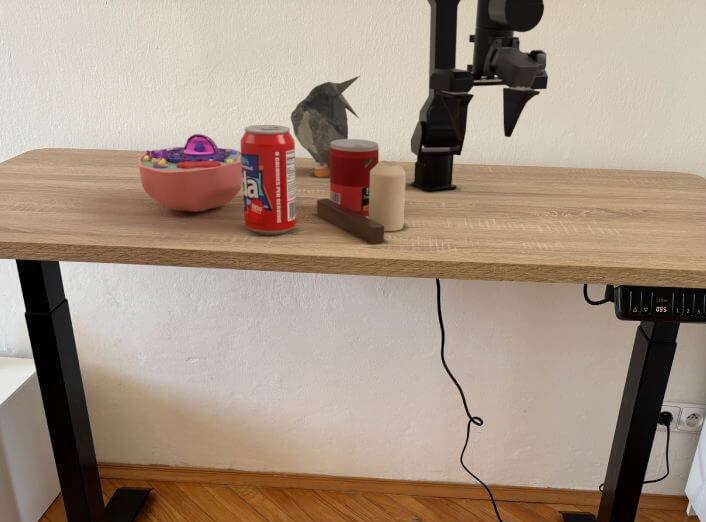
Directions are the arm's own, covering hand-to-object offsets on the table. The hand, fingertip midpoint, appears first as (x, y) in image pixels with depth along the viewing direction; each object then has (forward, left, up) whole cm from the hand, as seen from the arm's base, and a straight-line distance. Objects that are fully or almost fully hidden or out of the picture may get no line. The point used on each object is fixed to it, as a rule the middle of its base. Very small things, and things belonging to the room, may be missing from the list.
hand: (484, 138), depth 123 cm
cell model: (+39, -26, -13) cm, 49 cm away
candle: (+16, -3, -13) cm, 21 cm away
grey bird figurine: (+6, -42, -13) cm, 44 cm away
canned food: (+16, -14, -13) cm, 25 cm away
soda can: (+33, -9, -13) cm, 37 cm away
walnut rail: (+21, -5, -13) cm, 26 cm away
